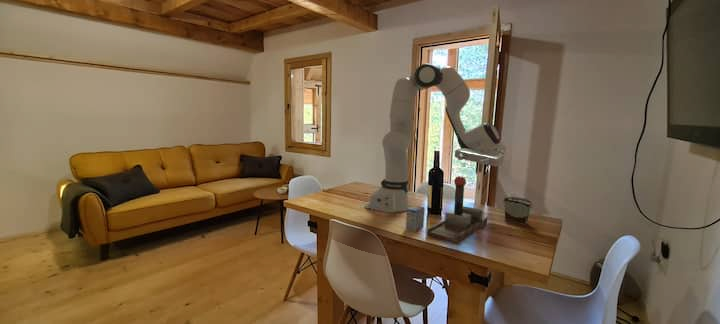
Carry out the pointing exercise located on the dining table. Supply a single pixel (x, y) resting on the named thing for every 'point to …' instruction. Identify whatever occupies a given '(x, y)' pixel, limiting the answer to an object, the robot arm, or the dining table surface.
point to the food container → (517, 209)
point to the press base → (455, 233)
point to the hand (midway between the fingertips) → (469, 160)
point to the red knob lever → (458, 207)
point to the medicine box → (415, 218)
